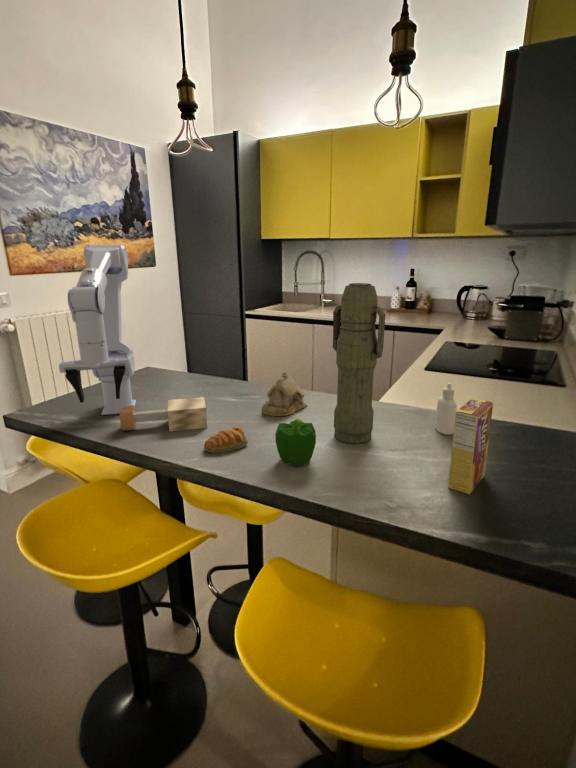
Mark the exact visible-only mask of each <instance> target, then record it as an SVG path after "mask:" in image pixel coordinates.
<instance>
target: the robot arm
mask: <svg viewBox="0 0 576 768" xmlns="http://www.w3.org/2000/svg"><path fill="white" fill-rule="evenodd" d="M83 258H84V263H85V266H86V268H85V269H83V270H82V271H81V273H80V276H79V278H78V281H77V283H76V286H73V287H72V288H71V289H68V291H67V305H68V308H69V311H70V313H71V318H72V322H73V323H75V324H74V325H75V329H76V336H77V342H78V349H79V350H78V351H79V355H80V359H77V360H70V361H61V362H59V364H58V369H59V373H61V374H63V373H65V378H66V380H67V381H68V382H69V384H70V385H71V386H72V388H73V390H74V391H75V393H76V394H77V395H76V396H77V398H78V400H79V403H80V404H82V403H84V402H85V394H84V388H83V384H82V375H81V371H90V370H91V372H92V375H93V376H94V377H95V378H97V379H98V381H99V382H100V384H101V390H102V397H103V405H104V407H103V408H102V411H101V416H104V415H105V416H106V415H117V414H118V415H119V412H120V409H121V406H132V405H134V407H135V406H136V402H137V400H136V399H133V394H132V386H131V385H132V384H131V379H130V378H131V377H132V376H133V375H134V374H135V358H134V351H133V349H132V347H130V346H129V345H128V344H126V343H125V342H123V341H122V339H123V338H122V337H123V335H122V300H121V299H122V297H121V296H122V295H121V294H122V293H121V290H122V284H123V283H124V281H126V280H128V275H129V259H128V252H127V248H126V246H125V245H124V244H123V243H119V244H89V243H87V244H85V246H84V248H83ZM135 408H136V407H135Z"/></svg>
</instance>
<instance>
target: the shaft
mask: <svg viewBox="0 0 576 768" xmlns="http://www.w3.org/2000/svg"><path fill="white" fill-rule="evenodd" d="M135 408H136V407H134V405H132V406H121V409H120V412H119V414H118V415H119V420H120V422H119V423H120V427H121V428H120V430H121V431H130V430H135V429H136V425H137V423H144V422H153V421H154V422H155V421H156V422H157V421H164V420H165V421H166V420H168V408H163V409H152V410H141V411H136V409H135Z"/></svg>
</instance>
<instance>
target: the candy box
mask: <svg viewBox="0 0 576 768" xmlns="http://www.w3.org/2000/svg"><path fill="white" fill-rule="evenodd" d="M493 408H494V402H493V401H488V400H483V399H479V398H471V399H469V400H468V401H467V402H466V403H465V404H464V405H462V406H461V407H460V408H457V410H456V413H455V424H454V433H453V434H452V443H451V444H452V445H451V454H450V464H449V465H450V466H449V474H448V485H447V487H448V489H452V490H454V491H457V492H460V493H463V494H465V495H471V493H472V492H473V491H474V490H475V488H476V487H477V486H478V484H479V483H480V482H481V481H482V480H483V478H484V477H485V474H486V467H487V466H486V465H487V459H488V450H489V449H488V448H489V441H490V433H491V432H490V431H491V426H492V417H493Z"/></svg>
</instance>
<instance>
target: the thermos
mask: <svg viewBox="0 0 576 768" xmlns="http://www.w3.org/2000/svg"><path fill="white" fill-rule="evenodd" d="M340 299H341V300H340V305H337V306H336V307H335V309H334V310H333V314H332V315H333V316H332V320H333V321H332V324H333V325H332V329H333V330H332V331H333V332H332V335H333V336H332V338H333V339H332V349H333V350H334V352H336V357H335V358H336V361H335V364H336V366H337V395H336V405H335V407H334V410H333V412H334V413H333V428H334V435H333V437H334V440H336V441H337V442H338V443H340V444H344V445H346V446H347V445H348V446H362V445H366V444H368V443H370V442H371V441H372V432H373V428H374V416H375V415H374V407H373V389H374V374H375V368H376V366H377V361H378V360H377V359H380V358H382V356H383V352H384V341H385V339H384V338H385V327H386V326H385V325H386V314H385V312H384V310H383V308H382V307H381V308H380V306H378V301H379V300H378V299H379V298H378V295H377V289H376V287H375V285H372V283H368V282H367V283H364V282H363V283H362V282H352V283H349V284H348V285H345V287H344V289H343V292H342V296H341V298H340ZM377 315H378V317H379V318H378V329H376V323H377ZM376 332H377V334H376Z"/></svg>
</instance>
